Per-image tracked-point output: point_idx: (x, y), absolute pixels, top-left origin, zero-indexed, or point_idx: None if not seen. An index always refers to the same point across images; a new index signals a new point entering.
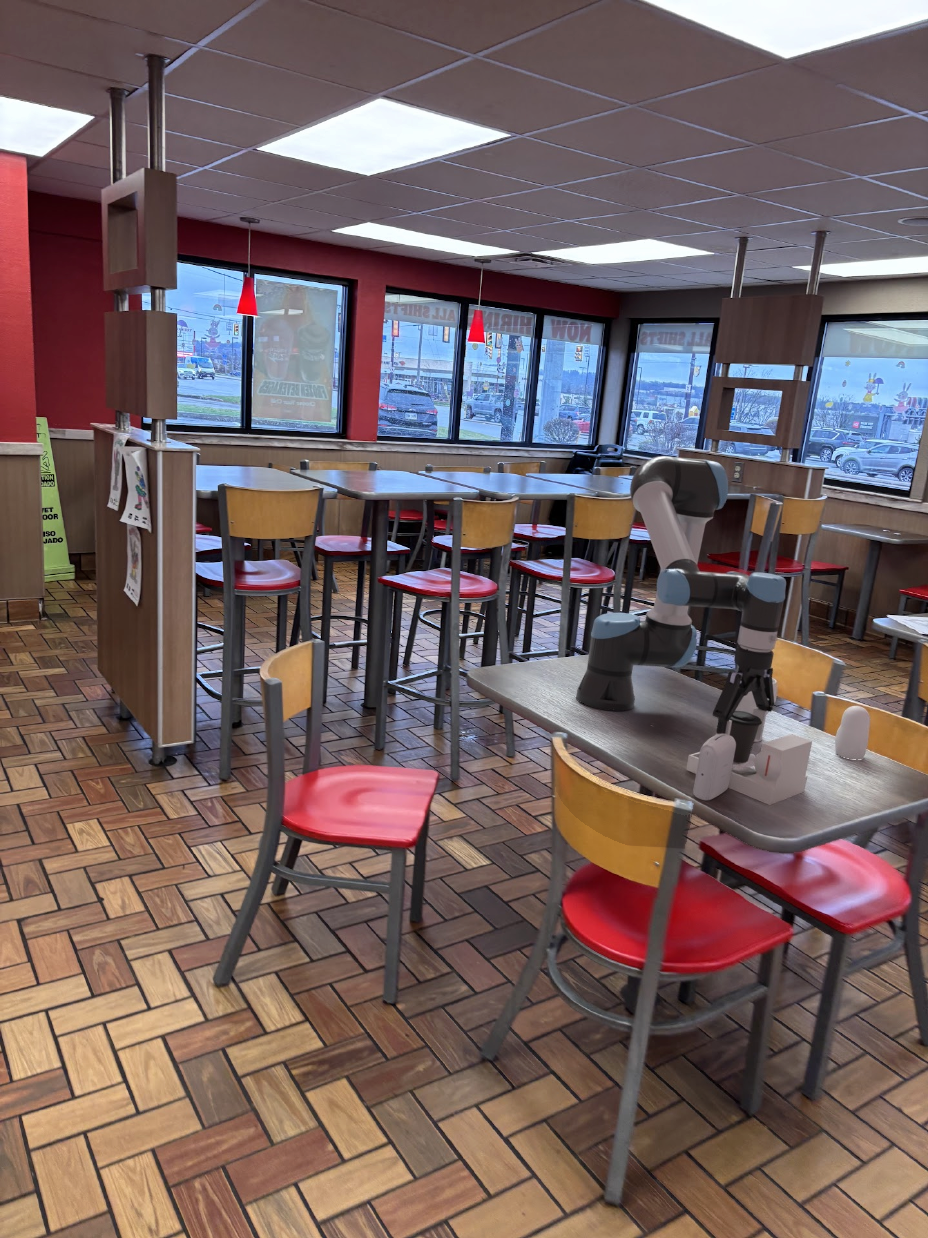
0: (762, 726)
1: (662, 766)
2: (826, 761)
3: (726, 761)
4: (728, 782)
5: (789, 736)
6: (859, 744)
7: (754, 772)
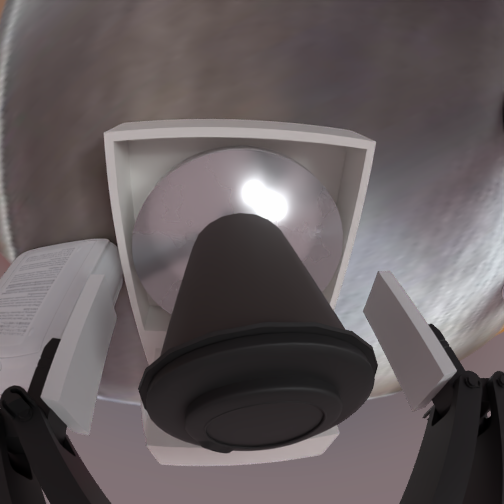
0: (387, 356)
1: (75, 69)
2: (484, 279)
3: None
4: None
5: (305, 442)
6: None
7: None
